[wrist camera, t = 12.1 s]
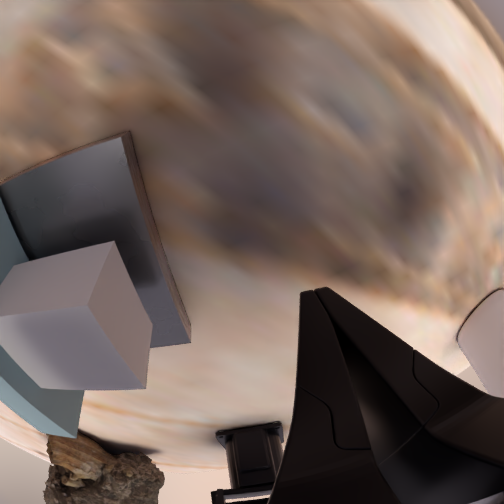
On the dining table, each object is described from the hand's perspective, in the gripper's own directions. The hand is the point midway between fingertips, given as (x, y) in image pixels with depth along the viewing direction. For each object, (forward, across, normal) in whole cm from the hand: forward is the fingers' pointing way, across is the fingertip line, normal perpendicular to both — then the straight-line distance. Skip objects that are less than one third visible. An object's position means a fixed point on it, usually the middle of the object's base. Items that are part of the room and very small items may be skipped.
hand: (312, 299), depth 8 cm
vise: (+4, +18, 0) cm, 19 cm away
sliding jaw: (+3, +10, 0) cm, 10 cm away
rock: (+5, +24, +26) cm, 36 cm away
